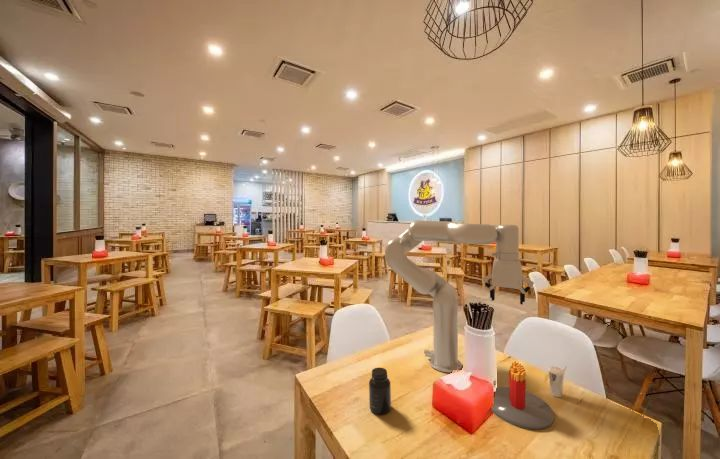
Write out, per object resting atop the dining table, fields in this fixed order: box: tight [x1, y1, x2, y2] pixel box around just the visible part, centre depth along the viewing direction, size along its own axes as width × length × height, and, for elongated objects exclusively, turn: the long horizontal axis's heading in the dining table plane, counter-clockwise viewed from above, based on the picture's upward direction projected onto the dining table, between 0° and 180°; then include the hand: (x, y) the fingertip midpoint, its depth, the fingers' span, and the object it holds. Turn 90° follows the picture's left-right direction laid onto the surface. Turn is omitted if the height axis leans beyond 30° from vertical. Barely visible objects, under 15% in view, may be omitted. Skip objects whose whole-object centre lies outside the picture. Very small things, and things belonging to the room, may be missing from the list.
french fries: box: [508, 360, 527, 410], centre depth 88 cm, size 8×4×12 cm, turn 161°
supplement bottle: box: [368, 367, 392, 416], centre depth 88 cm, size 7×7×12 cm
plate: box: [490, 386, 555, 431], centre depth 88 cm, size 18×18×2 cm
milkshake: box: [547, 366, 567, 398], centre depth 94 cm, size 4×5×10 cm
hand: (507, 301), depth 106 cm, fingers open, 9 cm apart
